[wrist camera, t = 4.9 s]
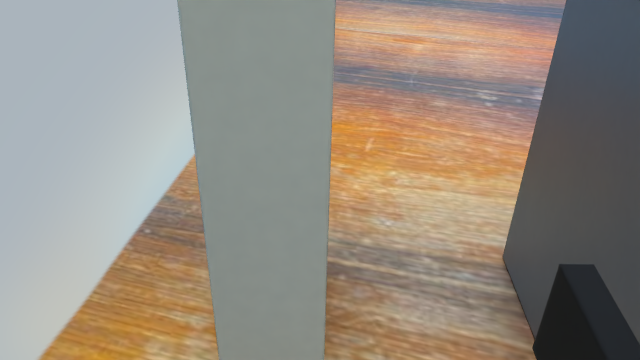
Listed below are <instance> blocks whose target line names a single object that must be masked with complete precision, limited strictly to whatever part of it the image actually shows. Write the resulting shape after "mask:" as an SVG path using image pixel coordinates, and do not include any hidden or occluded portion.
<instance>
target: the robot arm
mask: <svg viewBox="0 0 640 360" xmlns="http://www.w3.org/2000/svg"><path fill="white" fill-rule="evenodd" d="M533 351H534V354H535V356H536V359H537V360H640V344H639V342H638V341H637V339H636V337H635V335H634V334H633V332H632V330H631V328H630V327H629V325H628V323H627V321H626V320H625V318H624V316H623V314H622V313H621V311H620V309H619V307H618V306H617V304H616V302H615V300H614V299H613V297H612V295H611V293H610V292H609V290H608V288H607V286H606V285H605V283H604V281H603V279H602V278H601V276H600V274H599V272H598V271H597V269H596V267H595V266H594V264H559V267H558V270H557V273H556V276H555V279H554V282H553V286H552V289H551V292H550V295H549V298H548V301H547V304H546V307H545V311H544V314H543V317H542V320H541V323H540V326H539V329H538V332H537V336H536V339H535V342H534V345H533Z"/></svg>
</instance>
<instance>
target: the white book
mask: <svg viewBox="0 0 640 360" xmlns="http://www.w3.org/2000/svg"><path fill="white" fill-rule="evenodd" d="M177 2H178V12H179V20H180V29H181V37H182V45H183V55H184V63H185V71H186V80H187V89H188V97H189V106H190V115H191V122H192V132H193V140H194V149H195V157H196V166H197V175H198V183H199V192H200V200H201V209H202V217H203V226H204V235H205V243H206V252H207V260H208V269H209V277H210V286H211V294H212V303H213V312H214V320H215V329H216V337H217V346H218V354H219V360H324V350H325V319H326V288H327V257H328V226H329V195H330V164H331V133H332V102H333V71H334V40H335V9H336V0H177Z"/></svg>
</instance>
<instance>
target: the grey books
mask: <svg viewBox="0 0 640 360" xmlns="http://www.w3.org/2000/svg"><path fill="white" fill-rule="evenodd" d="M503 259H504V261H505V264H506V266H507V269H508V271H509V274H510V277H511V279H512V282H513V284H514V287H515V289H516V292H517V294H518V297H519V299H520V302H521V305H522V307H523V310H524V312H525V315H526V317H527V320H528V322H529V325H530V327H531V330H532V333H533V335H534V338H535V339H536V336H537V332H538V329H539V326H540V323H541V320H542V317H543V314H544V311H545V307H546V304H547V301H548V298H549V295H550V292H551V289H552V286H553V282H554V279H555V276H556V273H557V270H558V267H559V264H594V266H595V267H596V269H597V271H598V272H599V274H600V276H601V278H602V279H603V281H604V283H605V285H606V286H607V288H608V290H609V292H610V293H611V295H612V297H613V299H614V300H615V302H616V304H617V306H618V307H619V309H620V311H621V313H622V314H623V316H624V318H625V320H626V321H627V323H628V325H629V327H630V328H631V330H632V332H633V334H634V335H635V337H636V339H637V341H638V342H639V344H640V0H567V1H566V5H565V9H564V13H563V17H562V21H561V25H560V29H559V33H558V37H557V41H556V45H555V49H554V53H553V57H552V61H551V65H550V69H549V73H548V77H547V81H546V85H545V89H544V93H543V97H542V101H541V105H540V109H539V113H538V117H537V121H536V125H535V129H534V133H533V137H532V141H531V145H530V149H529V153H528V157H527V161H526V165H525V169H524V173H523V177H522V181H521V185H520V189H519V193H518V197H517V201H516V205H515V209H514V213H513V217H512V221H511V225H510V229H509V233H508V237H507V241H506V245H505V249H504V254H503Z"/></svg>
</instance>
